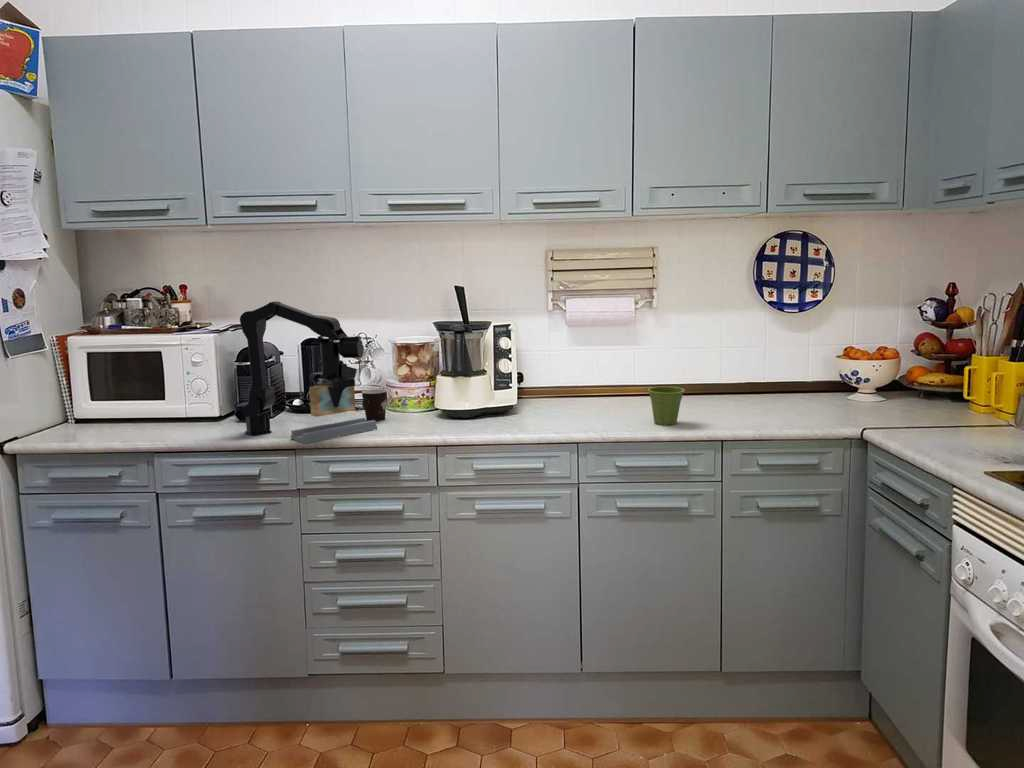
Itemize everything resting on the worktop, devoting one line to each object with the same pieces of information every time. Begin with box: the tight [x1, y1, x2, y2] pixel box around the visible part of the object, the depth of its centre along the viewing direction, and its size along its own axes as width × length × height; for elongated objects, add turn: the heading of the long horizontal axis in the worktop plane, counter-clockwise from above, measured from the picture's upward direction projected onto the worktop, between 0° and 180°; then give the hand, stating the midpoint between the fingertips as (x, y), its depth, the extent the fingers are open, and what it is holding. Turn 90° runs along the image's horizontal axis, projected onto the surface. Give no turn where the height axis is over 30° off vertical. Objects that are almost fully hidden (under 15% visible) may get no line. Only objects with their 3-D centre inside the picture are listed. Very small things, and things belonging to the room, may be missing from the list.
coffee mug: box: [361, 388, 388, 422], centre depth 267 cm, size 12×9×10 cm
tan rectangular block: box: [308, 384, 356, 418], centre depth 246 cm, size 14×4×9 cm, turn 134°
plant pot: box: [647, 386, 686, 426], centre depth 252 cm, size 12×12×11 cm
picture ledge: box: [290, 417, 378, 444], centre depth 248 cm, size 26×9×3 cm, turn 134°
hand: (333, 406), depth 246 cm, fingers closed on tan rectangular block, 4 cm apart
